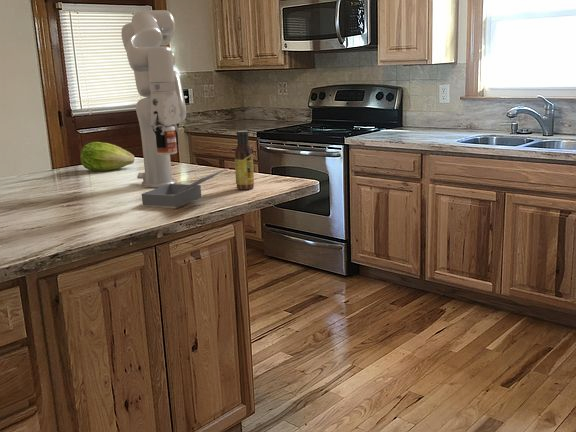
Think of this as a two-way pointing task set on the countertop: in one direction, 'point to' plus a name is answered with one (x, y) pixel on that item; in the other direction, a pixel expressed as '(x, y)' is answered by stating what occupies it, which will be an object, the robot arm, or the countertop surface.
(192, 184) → the lid
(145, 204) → the box
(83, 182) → the countertop surface
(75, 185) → the countertop surface
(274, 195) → the countertop surface
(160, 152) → the pill bottle
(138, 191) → the countertop surface
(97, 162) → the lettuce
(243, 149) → the sauce bottle
